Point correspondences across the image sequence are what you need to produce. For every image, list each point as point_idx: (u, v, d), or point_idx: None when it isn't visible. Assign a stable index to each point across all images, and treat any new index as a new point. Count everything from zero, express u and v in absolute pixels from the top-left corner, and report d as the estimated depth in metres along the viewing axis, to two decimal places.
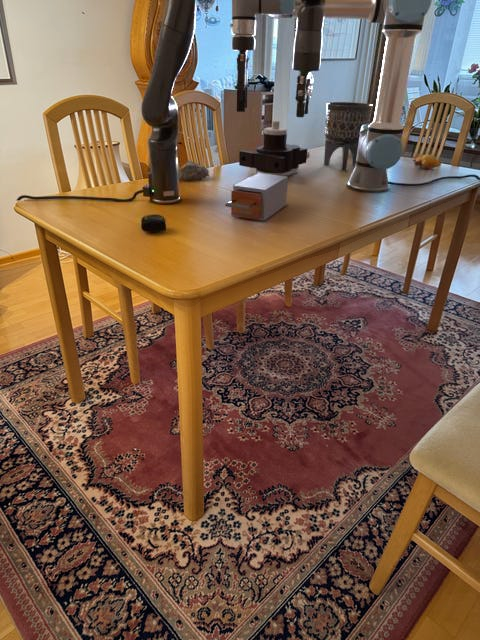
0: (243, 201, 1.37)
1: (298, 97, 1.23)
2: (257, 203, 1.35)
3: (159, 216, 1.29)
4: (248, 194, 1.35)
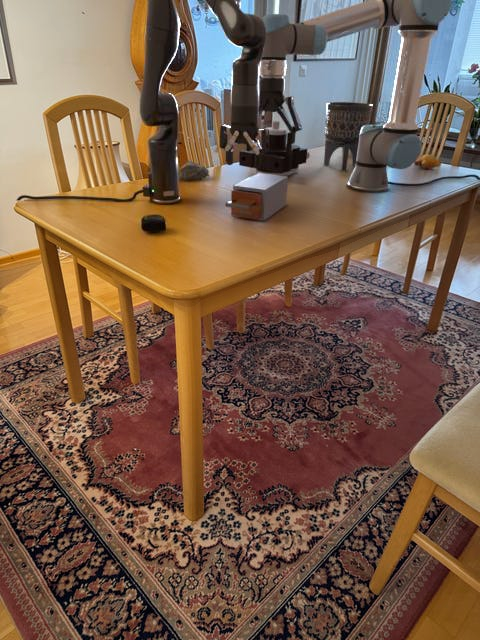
0: (243, 201, 1.37)
1: (266, 149, 1.23)
2: (257, 203, 1.35)
3: (159, 216, 1.29)
4: (248, 194, 1.35)
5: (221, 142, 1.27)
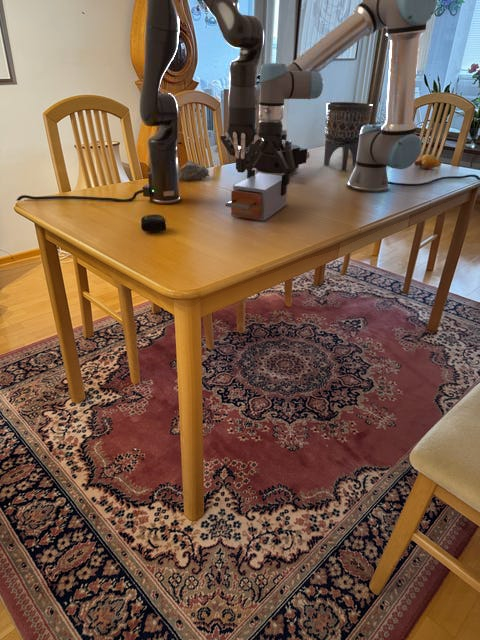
0: (243, 201, 1.37)
1: None
2: (257, 203, 1.35)
3: (159, 216, 1.29)
4: (248, 194, 1.35)
5: (229, 150, 1.27)
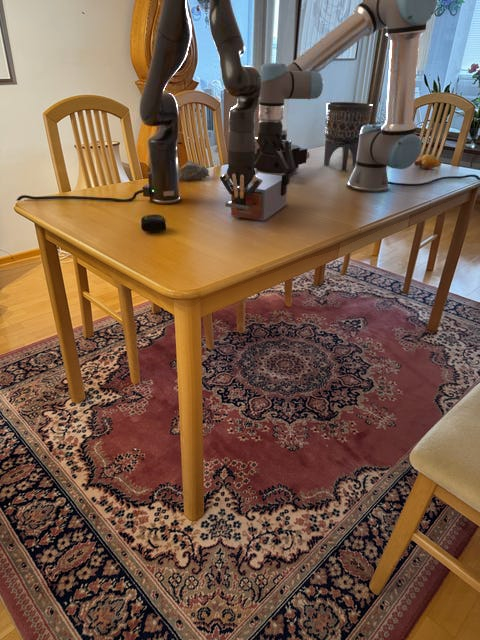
0: None
1: None
2: (257, 203, 1.35)
3: (159, 216, 1.29)
4: None
5: (229, 190, 1.32)
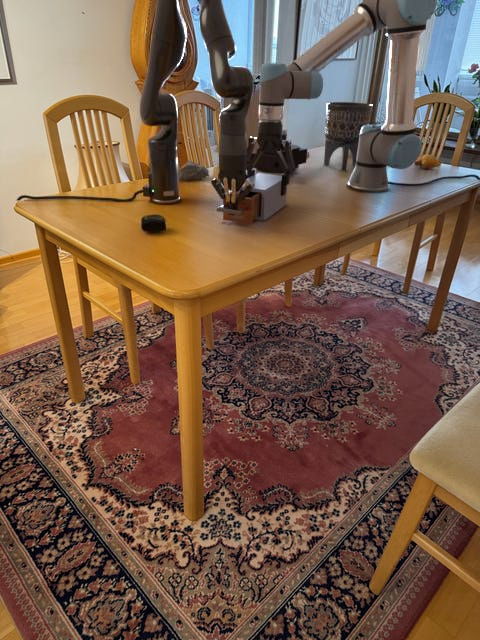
0: None
1: (241, 198, 1.26)
2: (250, 208, 1.31)
3: (159, 216, 1.29)
4: None
5: (220, 194, 1.27)
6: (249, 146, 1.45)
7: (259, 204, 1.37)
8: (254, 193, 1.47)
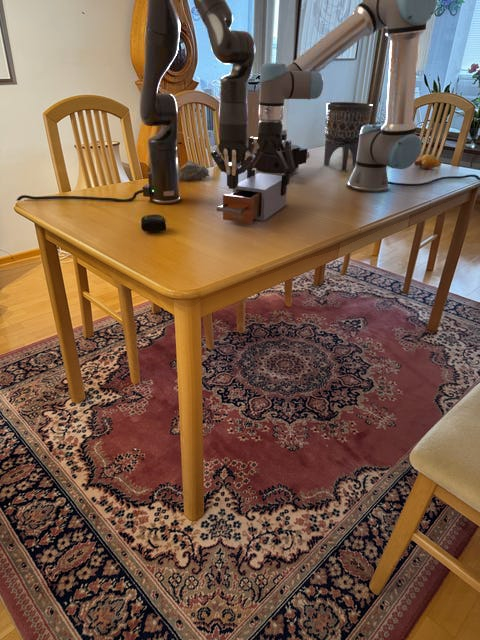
0: (235, 205, 1.32)
1: None
2: (250, 207, 1.31)
3: (159, 216, 1.29)
4: (240, 198, 1.31)
5: (220, 166, 1.24)
6: (249, 146, 1.45)
7: (259, 204, 1.37)
8: (254, 193, 1.47)
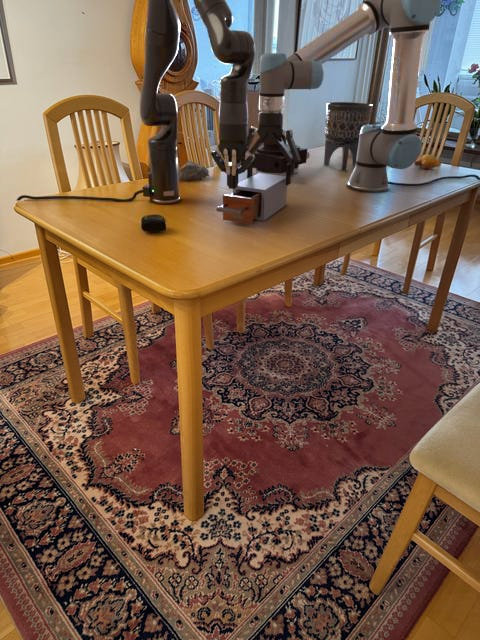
0: (235, 206, 1.32)
1: None
2: (250, 208, 1.31)
3: (159, 216, 1.29)
4: (240, 198, 1.31)
5: (220, 166, 1.24)
6: (249, 136, 1.44)
7: (259, 204, 1.37)
8: (254, 193, 1.47)
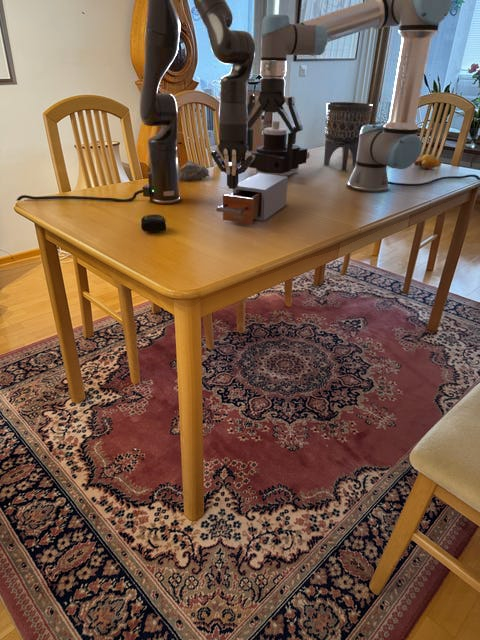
0: (235, 206, 1.32)
1: None
2: (250, 208, 1.31)
3: (159, 216, 1.29)
4: (240, 198, 1.31)
5: (220, 166, 1.24)
6: (249, 104, 1.39)
7: (259, 204, 1.37)
8: (254, 193, 1.47)
